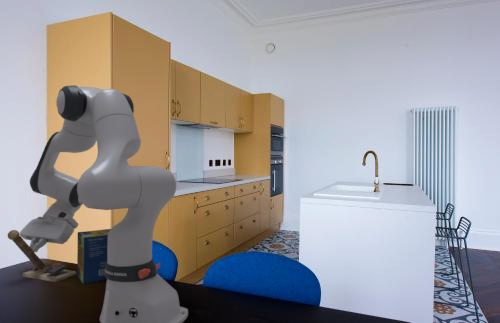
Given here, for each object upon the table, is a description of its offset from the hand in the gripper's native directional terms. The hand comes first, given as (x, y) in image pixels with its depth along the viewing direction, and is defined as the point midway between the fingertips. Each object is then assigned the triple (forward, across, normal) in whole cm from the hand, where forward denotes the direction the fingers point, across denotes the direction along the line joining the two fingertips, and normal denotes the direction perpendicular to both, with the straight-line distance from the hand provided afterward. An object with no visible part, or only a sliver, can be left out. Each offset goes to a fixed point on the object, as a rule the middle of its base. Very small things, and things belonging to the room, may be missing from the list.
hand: (31, 251), depth 116 cm
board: (+4, +4, +9) cm, 11 cm away
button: (+1, +4, +10) cm, 11 cm away
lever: (+2, 0, +8) cm, 8 cm away
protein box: (-1, +21, +15) cm, 26 cm away
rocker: (+2, +8, +7) cm, 11 cm away
